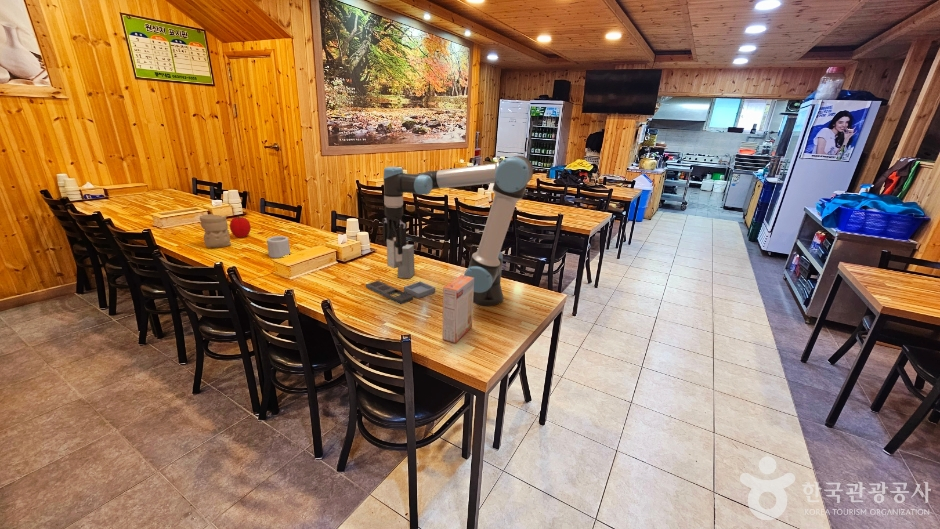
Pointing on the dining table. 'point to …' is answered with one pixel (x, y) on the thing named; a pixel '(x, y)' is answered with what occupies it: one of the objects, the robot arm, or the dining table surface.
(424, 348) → the dining table surface
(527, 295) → the dining table surface
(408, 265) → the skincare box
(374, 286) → the rail
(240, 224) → the red apple
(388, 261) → the block
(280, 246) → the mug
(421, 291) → the parts tray
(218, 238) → the container
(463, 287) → the cracker box
